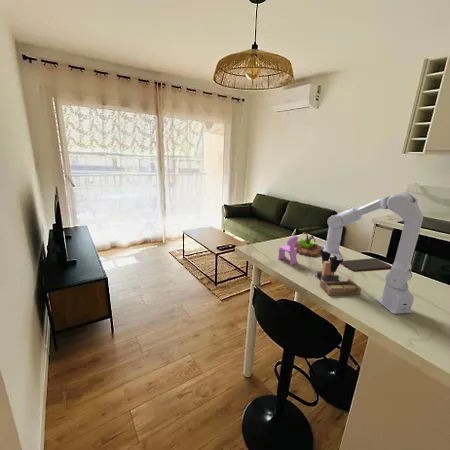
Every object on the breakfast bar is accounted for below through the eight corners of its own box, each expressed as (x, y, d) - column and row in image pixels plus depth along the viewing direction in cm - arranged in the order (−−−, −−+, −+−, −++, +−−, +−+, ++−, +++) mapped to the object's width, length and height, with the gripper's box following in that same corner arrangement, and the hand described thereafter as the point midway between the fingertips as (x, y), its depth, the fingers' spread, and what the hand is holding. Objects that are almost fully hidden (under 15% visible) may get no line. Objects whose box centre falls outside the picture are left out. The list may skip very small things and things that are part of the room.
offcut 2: (354, 293, 107) (356, 287, 106) (343, 293, 106) (345, 287, 105) (351, 291, 109) (353, 284, 108) (341, 291, 108) (342, 285, 107)
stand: (339, 281, 116) (340, 276, 115) (321, 281, 115) (321, 276, 114) (332, 275, 122) (333, 270, 121) (315, 275, 121) (315, 270, 120)
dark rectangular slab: (337, 260, 138) (375, 257, 143) (337, 263, 138) (374, 260, 144) (353, 270, 126) (393, 266, 132) (352, 273, 127) (393, 269, 132)
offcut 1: (341, 293, 106) (342, 287, 105) (330, 294, 105) (331, 287, 104) (339, 291, 108) (340, 285, 107) (328, 291, 107) (329, 285, 106)
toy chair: (285, 256, 142) (288, 231, 138) (298, 262, 136) (302, 235, 132) (276, 259, 137) (278, 233, 133) (288, 265, 131) (292, 238, 127)
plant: (299, 242, 167) (301, 226, 164) (328, 251, 154) (331, 233, 151) (282, 249, 154) (284, 232, 151) (312, 259, 141) (315, 240, 138)
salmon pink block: (333, 278, 118) (335, 262, 115) (323, 278, 117) (325, 262, 115) (330, 276, 120) (333, 261, 117) (321, 276, 119) (323, 261, 117)
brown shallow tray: (359, 294, 106) (361, 288, 105) (328, 295, 104) (329, 289, 103) (348, 285, 113) (349, 279, 112) (319, 285, 112) (320, 279, 111)
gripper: (317, 235, 120) (313, 261, 123) (333, 246, 106) (328, 275, 110) (331, 235, 120) (327, 261, 124) (349, 246, 107) (343, 275, 110)
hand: (328, 268), depth 117 cm, fingers open, 7 cm apart
